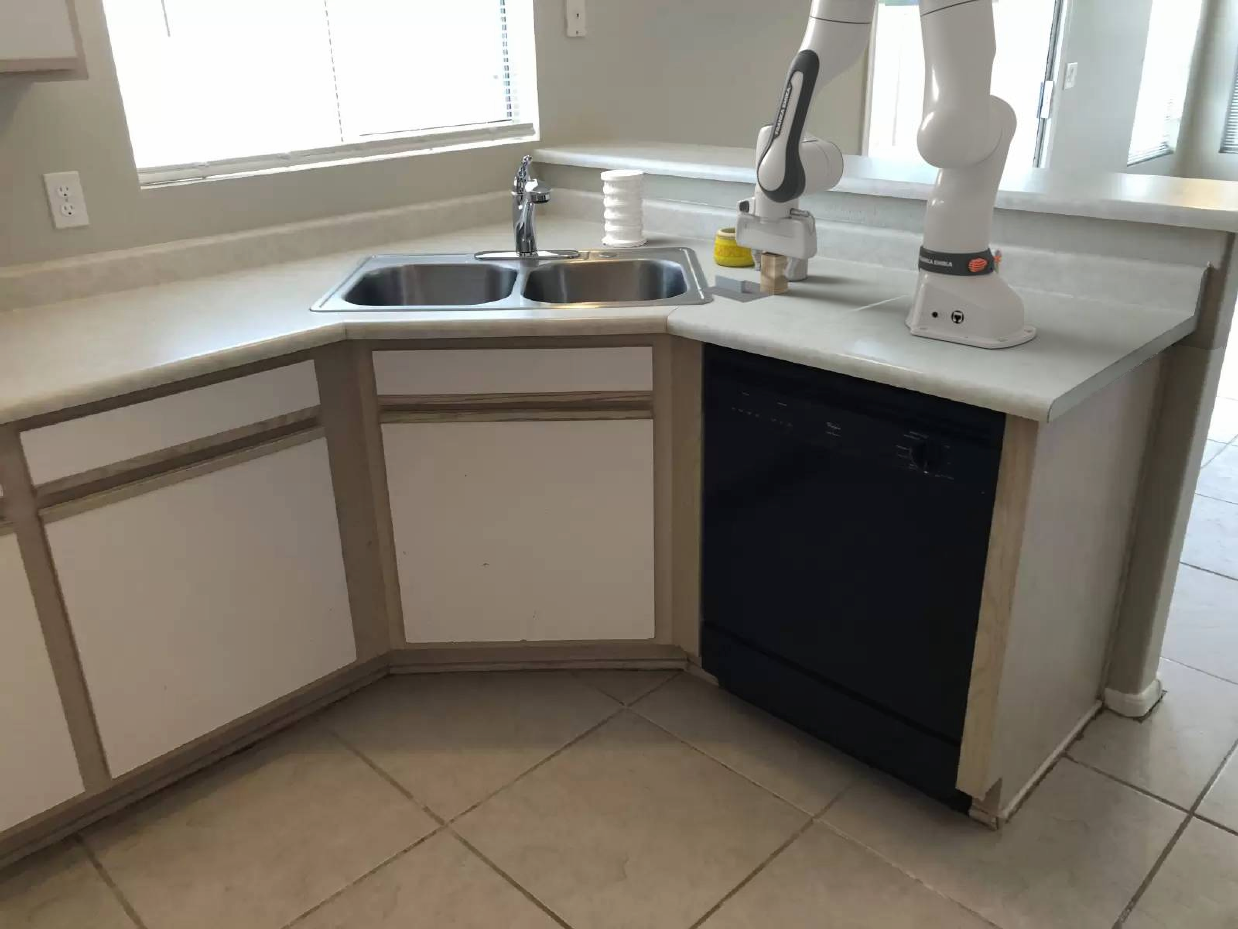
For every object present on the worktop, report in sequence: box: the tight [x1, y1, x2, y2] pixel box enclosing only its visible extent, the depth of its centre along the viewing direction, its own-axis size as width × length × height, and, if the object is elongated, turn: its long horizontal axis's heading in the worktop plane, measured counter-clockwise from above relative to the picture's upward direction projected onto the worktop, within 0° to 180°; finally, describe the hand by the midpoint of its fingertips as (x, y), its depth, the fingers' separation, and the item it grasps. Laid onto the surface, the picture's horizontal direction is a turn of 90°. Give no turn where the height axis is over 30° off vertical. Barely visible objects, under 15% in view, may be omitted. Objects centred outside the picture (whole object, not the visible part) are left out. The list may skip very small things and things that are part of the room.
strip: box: [714, 273, 746, 293], centre depth 199 cm, size 8×1×2 cm, turn 37°
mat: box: [698, 279, 789, 304], centre depth 198 cm, size 14×13×1 cm
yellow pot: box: [713, 226, 755, 268], centre depth 220 cm, size 13×11×12 cm
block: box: [759, 251, 789, 296], centre depth 195 cm, size 4×4×8 cm
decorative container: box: [600, 169, 647, 246], centre depth 245 cm, size 12×12×18 cm
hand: (773, 273), depth 195 cm, fingers open, 7 cm apart
